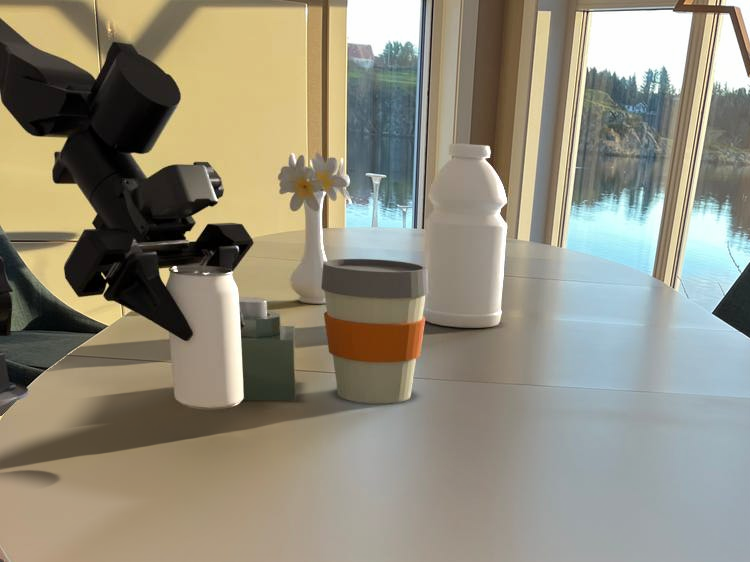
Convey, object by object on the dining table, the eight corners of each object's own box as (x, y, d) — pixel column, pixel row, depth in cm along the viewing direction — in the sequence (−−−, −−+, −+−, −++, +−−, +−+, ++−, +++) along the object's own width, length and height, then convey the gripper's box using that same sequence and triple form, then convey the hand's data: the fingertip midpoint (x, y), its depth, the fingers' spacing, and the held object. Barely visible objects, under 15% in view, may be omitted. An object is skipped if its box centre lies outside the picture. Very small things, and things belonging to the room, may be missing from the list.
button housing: (208, 399, 110) (202, 319, 106) (214, 381, 118) (209, 306, 113) (295, 401, 111) (292, 322, 107) (296, 383, 119) (293, 309, 115)
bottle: (430, 312, 174) (436, 142, 161) (504, 319, 173) (516, 147, 160) (415, 324, 162) (420, 141, 149) (494, 331, 161) (506, 146, 148)
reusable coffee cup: (302, 390, 116) (298, 260, 109) (378, 378, 124) (379, 256, 117) (369, 412, 109) (370, 274, 102) (445, 398, 117) (451, 269, 110)
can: (256, 399, 93) (251, 270, 87) (220, 413, 88) (212, 277, 82) (199, 390, 95) (190, 262, 89) (160, 403, 89) (148, 269, 84)
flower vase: (278, 308, 169) (272, 151, 157) (285, 293, 185) (279, 150, 173) (352, 311, 170) (351, 156, 159) (352, 296, 186) (351, 154, 175)
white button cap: (231, 320, 108) (230, 301, 108) (233, 314, 112) (232, 296, 111) (266, 321, 109) (266, 302, 108) (268, 315, 113) (267, 297, 112)
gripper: (67, 119, 75) (180, 285, 75) (233, 130, 89) (327, 269, 90) (18, 217, 82) (121, 368, 82) (179, 212, 96) (266, 340, 97)
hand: (215, 333), depth 87 cm, fingers closed on can, 6 cm apart
